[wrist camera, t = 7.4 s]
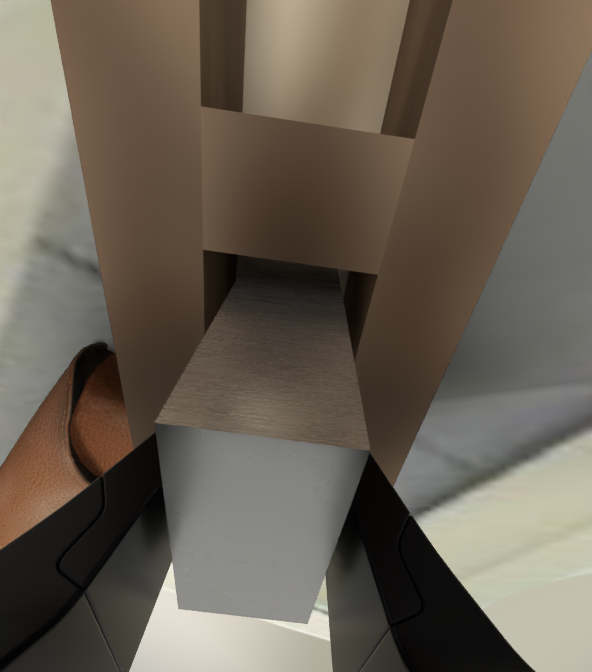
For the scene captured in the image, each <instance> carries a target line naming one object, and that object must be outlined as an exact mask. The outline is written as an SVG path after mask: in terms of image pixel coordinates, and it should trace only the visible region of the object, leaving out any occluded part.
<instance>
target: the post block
mask: <svg viewBox="0 0 592 672" xmlns="http://www.w3.org/2000/svg"><path fill="white" fill-rule="evenodd" d="M51 4H52V10H53V15H54V21H55V26H56V32H57V37H58V42H59V48H60V53H61V59H62V64H63V70H64V75H65V80H66V86H67V91H68V97H69V102H70V108H71V113H72V119H73V124H74V129H75V135H76V140H77V146H78V151H79V157H80V162H81V168H82V173H83V178H84V184H85V189H86V195H87V200H88V206H89V211H90V216H91V222H92V227H93V233H94V238H95V244H96V249H97V255H98V260H99V265H100V271H101V276H102V282H103V287H104V293H105V298H106V303H107V309H108V314H109V320H110V325H111V331H112V336H113V342H114V347H115V352H116V358H117V363H118V369H119V374H120V380H121V385H122V390H123V396H124V401H125V407H126V412H127V418H128V423H129V429H130V434H131V439H132V445H133V449H135V448H136V447H137V446H138V445H140V444H141V443H142V442H143V441H145V440H146V439H147V438H148V437H150V436H151V435H152V434H153V433H155V432H156V431H155V421H156V419H157V417H158V416H159V414H160V412H161V410H162V409H163V407H164V405H165V403H166V402H167V400H168V398H169V396H170V395H171V393H172V391H173V390H174V388H175V386H176V384H177V383H178V381H179V379H180V377H181V376H182V374H183V372H184V370H185V369H186V367H187V365H188V363H189V362H190V360H191V358H192V356H193V355H194V353H195V351H196V349H197V348H198V346H199V344H200V342H201V341H202V339H203V337H204V335H205V334H206V332H207V330H208V329H209V327H210V325H211V323H212V322H213V320H214V318H215V316H216V315H217V313H218V311H219V309H220V308H221V306H222V304H223V302H224V301H225V299H226V297H227V295H228V294H229V292H230V290H231V288H232V287H233V285H234V283H235V281H236V280H237V278H238V276H239V274H240V273H241V271H242V269H243V268H244V266H245V264H246V262H247V261H248V259H249V257H250V256H251V257H258V258H265V259H272V260H279V261H286V262H293V263H300V264H307V265H314V266H321V267H328V268H335V269H338V274H339V280H340V285H341V291H342V296H343V302H344V307H345V313H346V318H347V324H348V329H349V335H350V340H351V346H352V352H353V357H354V363H355V368H356V374H357V379H358V385H359V390H360V396H361V401H362V407H363V412H364V418H365V423H366V429H367V434H368V440H369V445H370V453H371V455H372V456H373V458H374V459H375V461H376V462H377V464H378V465H379V467H380V468H381V470H382V471H383V473H384V474H385V476H386V477H387V479H388V480H389V482H390V483H391V485H392V486H394V484H395V481H396V479H397V477H398V475H399V473H400V470H401V468H402V466H403V464H404V462H405V459H406V457H407V455H408V453H409V451H410V448H411V446H412V444H413V442H414V440H415V437H416V435H417V433H418V431H419V429H420V426H421V424H422V422H423V420H424V418H425V415H426V413H427V411H428V409H429V407H430V404H431V402H432V400H433V398H434V396H435V394H436V391H437V389H438V387H439V385H440V383H441V380H442V378H443V376H444V374H445V372H446V369H447V367H448V365H449V363H450V361H451V358H452V356H453V354H454V352H455V350H456V347H457V345H458V343H459V341H460V339H461V336H462V334H463V332H464V330H465V328H466V325H467V323H468V321H469V319H470V317H471V314H472V312H473V310H474V308H475V306H476V303H477V301H478V299H479V297H480V295H481V292H482V290H483V288H484V286H485V284H486V281H487V279H488V277H489V275H490V273H491V270H492V268H493V266H494V264H495V262H496V259H497V257H498V255H499V253H500V251H501V248H502V246H503V244H504V242H505V240H506V237H507V235H508V233H509V231H510V229H511V226H512V224H513V222H514V220H515V218H516V215H517V213H518V211H519V209H520V207H521V204H522V202H523V200H524V198H525V196H526V193H527V191H528V189H529V187H530V185H531V182H532V180H533V178H534V176H535V174H536V172H537V169H538V167H539V165H540V163H541V161H542V158H543V156H544V154H545V152H546V150H547V147H548V145H549V143H550V141H551V139H552V136H553V134H554V132H555V130H556V128H557V125H558V123H559V121H560V119H561V117H562V114H563V112H564V110H565V108H566V106H567V103H568V101H569V99H570V97H571V95H572V92H573V90H574V88H575V86H576V84H577V81H578V79H579V77H580V75H581V73H582V70H583V68H584V66H585V64H586V62H587V59H588V57H589V55H590V53H591V51H592V0H51Z"/></svg>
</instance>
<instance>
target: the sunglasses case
mask: <svg viewBox="0 0 592 672" xmlns="http://www.w3.org/2000/svg"><path fill="white" fill-rule="evenodd" d="M106 348H107V344H106V343H97V344H91V345H89V346H87V347H84V348H83V349H81V350H80V352H78V354H77V355H76V356H75V357H74V358H73V360H72V361H71V363H70V365H69V366H68V368H67V369H66V370H65V372H64V373H63V375H62V376H61V377H60V379H59V380H58V382H57V383H56V384H55V386H54V387H53V389H52V390H51V391H50V392H49V394H48V396H47V397H46V398H45V400H44V401H43V402H42V404H41V405H40V407H39V409H38V410H37V412H36V413H35V415H34V416H33V418H32V419H31V421H30V422H29V424H28V425H27V427H26V428H25V430H24V431H23V433H22V434H21V436H20V438H19V439H18V441H17V442H16V444H15V445H14V447H13V449H12V450H11V452H10V453H9V455H8V456H7V458H6V459H5V461H4V462H3V464H2V466H1V467H0V549H1V548H3V547H4V546H6V545H7V544H9V543H10V542H12V541H13V540H15V539H16V538H17V537H19V536H20V535H22V534H23V533H25V532H26V531H28V530H29V529H31V528H32V527H33V526H35V525H36V524H38V523H39V522H41V521H42V520H43V519H45V518H46V517H48V516H49V515H50V514H52V513H53V512H55V511H56V510H57V509H59V508H60V507H62V506H63V505H64V504H66V503H67V502H68V501H69V500H71V499H72V498H73V497H75V496H76V495H77V494H78V493H80V492H81V491H82V490H84V489H85V488H86V487H87V486H89V485H90V484H91V483H92V482H94V481H95V480H96V479H97V478H99V477H102V478H103V474H104V473H105V472H106V471H107V470H109V469H110V468H111V467H112V466H114V465H115V464H116V463H117V462H119V461H120V460H121V459H122V458H124V457H125V456H126V455H127V454H129V453H130V452H131V451H132V450H133V445H132V439H131V434H130V429H129V423H128V418H127V412H126V407H125V401H124V396H123V390H122V385H121V380H120V374H119V369H118V363H117V358H116V354H115V353H113V352H111V351H108V350H107V349H106Z"/></svg>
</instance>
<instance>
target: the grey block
mask: <svg viewBox="0 0 592 672" xmlns="http://www.w3.org/2000/svg"><path fill="white" fill-rule="evenodd" d="M155 431H156V439H157V446H158V454H159V462H160V469H161V477H162V485H163V493H164V500H165V508H166V516H167V524H168V531H169V539H170V547H171V554H172V562H173V570H174V578H175V585H176V593H177V601H178V608H179V609H184V610H193V611H201V612H210V613H218V614H227V615H236V616H245V617H253V618H261V619H270V620H278V621H287V622H295V623H304V624H307V623H308V621H309V618H310V615H311V612H312V610H313V607H314V604H315V601H316V599H317V596H318V593H319V590H320V588H321V585H322V582H323V580H324V577H325V574H326V571H327V569H328V566H329V563H330V560H331V558H332V555H333V552H334V549H335V547H336V544H337V541H338V538H339V536H340V533H341V530H342V527H343V525H344V522H345V519H346V516H347V514H348V511H349V508H350V505H351V503H352V500H353V497H354V494H355V492H356V489H357V486H358V483H359V481H360V478H361V475H362V473H363V470H364V467H365V464H366V462H367V459H368V456H369V453H370V445H369V440H368V434H367V429H366V423H365V418H364V412H363V407H362V401H361V396H360V390H359V385H358V379H357V374H356V368H355V363H354V357H353V352H352V346H351V340H350V335H349V329H348V324H347V318H346V313H345V307H344V302H343V296H342V291H341V285H340V280H339V274H338V269H335V268H328V267H321V266H314V265H307V264H300V263H293V262H286V261H279V260H272V259H265V258H258V257H251V256H250V257H249V259H248V261H247V262H246V264H245V266H244V268H243V269H242V271H241V273H240V274H239V276H238V278H237V280H236V281H235V283H234V285H233V287H232V288H231V290H230V292H229V294H228V295H227V297H226V299H225V301H224V302H223V304H222V306H221V308H220V309H219V311H218V313H217V315H216V316H215V318H214V320H213V322H212V323H211V325H210V327H209V329H208V330H207V332H206V334H205V335H204V337H203V339H202V341H201V342H200V344H199V346H198V348H197V349H196V351H195V353H194V355H193V356H192V358H191V360H190V362H189V363H188V365H187V367H186V369H185V370H184V372H183V374H182V376H181V377H180V379H179V381H178V383H177V384H176V386H175V388H174V390H173V391H172V393H171V395H170V396H169V398H168V400H167V402H166V403H165V405H164V407H163V409H162V410H161V412H160V414H159V416H158V417H157V419H156V421H155Z"/></svg>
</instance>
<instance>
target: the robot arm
mask: <svg viewBox="0 0 592 672" xmlns="http://www.w3.org/2000/svg"><path fill="white" fill-rule="evenodd" d="M171 562H172V554H171V547H170V539H169V531H168V524H167V516H166V508H165V500H164V493H163V485H162V477H161V469H160V462H159V454H158V446H157V439H156V432H155V433H153V434H152V435H151V436H150V437H148V438H147V439H146V440H145V441H143V442H142V443H141V444H140V445H138V446H137V447H136V448H135V449H133V450H132V451H131V452H130V453H129V454H127V455H126V456H125V457H124V458H122V459H121V460H120V461H119V462H117V463H116V464H115V465H114V466H112V467H111V468H110V469H109V470H107V471H106V472H105V473H104V474H103V478H102V477H99V478H97V479H96V480H95V481H94V482H92V483H91V484H90V485H89V486H87V487H86V488H85V489H84V490H82V491H81V492H80V493H78V494H77V495H76V496H75V497H73V498H72V499H71V500H69V501H68V502H67V503H66V504H64V505H63V506H62V507H60V508H59V509H57V510H56V511H55V512H53V513H52V514H50V515H49V516H48V517H46V518H45V519H43V520H42V521H41V522H39V523H38V524H36V525H35V526H33V527H32V528H31V529H29V530H28V531H26V532H25V533H23V534H22V535H20V536H19V537H17V538H16V539H15V540H13V541H12V542H10V543H9V544H7V545H6V546H4V547H3V548H1V549H0V672H129V670H130V668H131V665H132V662H133V660H134V657H135V655H136V652H137V650H138V647H139V644H140V642H141V639H142V637H143V634H144V631H145V629H146V626H147V624H148V621H149V618H150V616H151V613H152V611H153V608H154V606H155V603H156V600H157V598H158V595H159V592H160V590H161V588H162V585H163V582H164V580H165V577H166V575H167V572H168V569H169V567H170V564H171ZM326 587H327V600H328V613H329V627H330V640H331V653H332V666H333V672H535V671H534V670H533V669H532V668H531V667H530V666H529V665H528V664H527V663H526V662H525V661H524V660H523V659H522V658H521V657H520V656H519V654H518V653H517V652H516V651H515V650H514V649H513V648H512V646H511V645H510V644H509V643H508V642H507V640H506V639H505V638H504V637H503V636H502V634H501V633H500V632H499V631H498V629H497V628H496V627H495V625H494V624H493V623H492V622H491V621H490V619H489V618H488V617H487V615H486V614H485V613H484V612H483V610H482V609H481V608H480V607H479V605H478V604H477V603H476V602H475V600H474V599H473V598H472V596H471V595H470V594H469V593H468V591H467V590H466V589H465V588H464V586H463V585H462V584H461V583H460V581H459V580H458V579H457V578H456V576H455V575H454V574H453V572H452V571H451V570H450V568H449V567H448V566H447V564H446V563H445V562H444V561H443V559H442V558H441V557H440V555H439V554H438V553H437V551H436V550H435V548H434V547H433V546H432V544H431V543H430V541H429V540H428V538H427V537H426V535H425V534H424V533H423V531H422V530H421V528H420V527H419V525H418V524H417V522H416V521H415V519H414V518H413V516H411V515H410V512H409V510H408V509H407V507H406V506H405V504H404V503H403V501H402V500H401V498H400V497H399V495H398V494H397V492H396V491H395V489H394V488H393V486H392V485H391V483H390V482H389V480H388V479H387V477H386V476H385V474H384V473H383V471H382V470H381V468H380V467H379V465H378V464H377V462H376V461H375V459H374V458H373V456H372V455H371V453H369V456H368V459H367V462H366V464H365V467H364V470H363V473H362V475H361V478H360V481H359V483H358V486H357V489H356V492H355V494H354V497H353V500H352V503H351V505H350V508H349V511H348V514H347V516H346V519H345V522H344V525H343V527H342V530H341V533H340V536H339V538H338V541H337V544H336V547H335V549H334V552H333V555H332V558H331V560H330V563H329V566H328V569H327V571H326Z"/></svg>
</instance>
